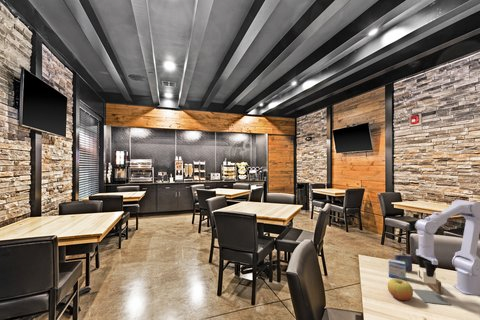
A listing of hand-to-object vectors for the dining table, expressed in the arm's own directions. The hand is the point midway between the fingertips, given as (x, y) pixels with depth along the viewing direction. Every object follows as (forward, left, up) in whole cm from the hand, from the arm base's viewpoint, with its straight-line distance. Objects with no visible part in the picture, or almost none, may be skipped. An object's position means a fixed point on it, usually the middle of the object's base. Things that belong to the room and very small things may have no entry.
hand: (426, 273), depth 111 cm
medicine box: (+6, -16, -10) cm, 20 cm away
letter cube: (0, 0, -3) cm, 3 cm away
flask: (-1, -27, -10) cm, 29 cm away
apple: (+14, +5, -10) cm, 18 cm away
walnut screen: (-6, -8, -10) cm, 14 cm away
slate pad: (0, +2, -10) cm, 10 cm away
